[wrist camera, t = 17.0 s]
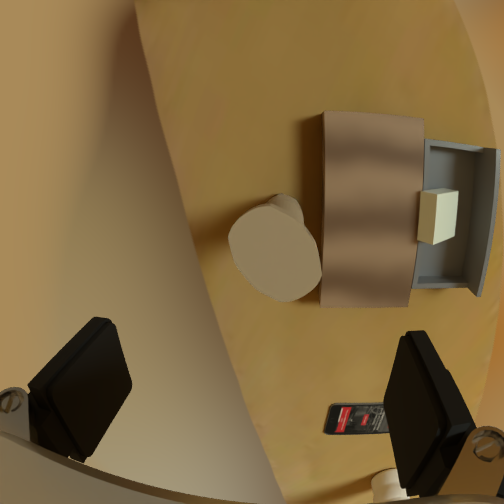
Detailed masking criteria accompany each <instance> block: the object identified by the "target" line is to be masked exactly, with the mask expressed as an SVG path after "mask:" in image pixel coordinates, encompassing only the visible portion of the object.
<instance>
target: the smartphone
mask: <svg viewBox="0 0 504 504" xmlns="http://www.w3.org/2000/svg"><path fill="white" fill-rule="evenodd" d="M324 433H325V434H327V435H358V434H382V433H389V428H388V424H387V420H386V415H385V411H384V406H383V402H381V403H334V404H332V405H331V406H330V410H329V414H328V418H327V422H326V426H325V430H324Z"/></svg>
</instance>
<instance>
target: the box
mask: <svg viewBox="0 0 504 504" xmlns="http://www.w3.org/2000/svg"><path fill="white" fill-rule="evenodd" d="M500 153H501V152H500V150H499V149H493V148H484V147H478V146H472V145H466V144H460V143H453V142H446V141H439V140H431V139H424V167H423V189H422V191H424V190H432V189H439V188H446V189H451V190H456V191H459V192H458V206H457V217H456V227H455V235H454V237H451V238H449V239H447V240H444V241H442V242H439V243H437V244H434V245H431V244H428V243H425V242H422V241H419V240H418V244H417V252H416V259H415V266H414V273H413V279H412V285H411V288H412V289H421V288H466V287H467V288H468V289H469V290H470V291H471V292H472V293H473V294H474V295H475V296H476V297H481V293H482V289H483V285H484V280H485V276H486V271H487V266H488V261H489V256H490V251H491V245H492V239H493V233H494V226H495V218H496V210H497V201H498V190H499V176H500Z"/></svg>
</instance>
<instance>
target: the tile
mask: <svg viewBox="0 0 504 504" xmlns="http://www.w3.org/2000/svg"><path fill="white" fill-rule="evenodd" d="M458 192H459V191H456V190H451V189H446V188H439V189H432V190H424V191H421V194H420V212H419V225H418V236H417V240H419V241H422V242H425V243H428V244H431V245H434V244H437V243H439V242H442V241H444V240H447V239H449V238H451V237H454V235H455V227H456V217H457V206H458Z"/></svg>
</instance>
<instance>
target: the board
mask: <svg viewBox="0 0 504 504" xmlns="http://www.w3.org/2000/svg"><path fill="white" fill-rule="evenodd" d="M322 157H323V181H322V234H321V260H320V264H321V271H322V276H321V279H320V281H319V302H320V308H376V307H408V302H409V297H410V291H411V285H412V279H413V273H414V266H415V259H416V252H417V244H418V240H417V236H418V225H419V212H420V194H421V191H422V189H423V167H424V119H423V118H415V117H407V116H398V115H387V114H376V113H362V112H345V111H324V112H323V113H322Z"/></svg>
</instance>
